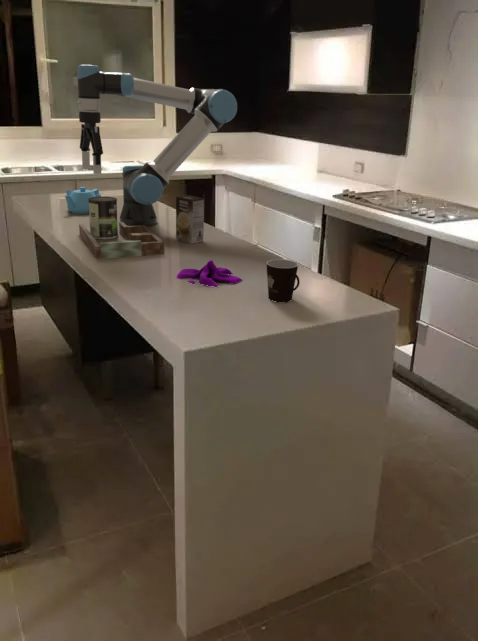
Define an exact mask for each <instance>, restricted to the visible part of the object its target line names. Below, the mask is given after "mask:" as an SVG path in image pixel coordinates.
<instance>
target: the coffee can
mask: <svg viewBox="0 0 478 641" xmlns="http://www.w3.org/2000/svg"><path fill="white" fill-rule="evenodd" d="M88 201H89V214H88V215H89V232H90V233H91V235H92V236H93V237H94V239H95V240H113V239H117V238H118V237H119V234H118V233H119V229H118V228H119V225H118V206H117V205H118V204H117V201H118V198H116V197H113V196H101V197H91V198H88Z"/></svg>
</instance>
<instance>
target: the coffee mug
mask: <svg viewBox="0 0 478 641" xmlns="http://www.w3.org/2000/svg"><path fill="white" fill-rule="evenodd" d="M265 264H266V279H267V293H268V294H267V295H268V296H267V297H268V300H269V299H270V301H271V300H273V301H276V302H275V303H279V302H285V303H289V302H288V301H290V300H291V301H292V300H293V296H294V295H293V294H294V292H295V291H296V290H297V289H298V288H299V286H300V278H299V275H297V272H298V267H299V263H298V262H297V261H294V260H290V259H281V258H279V259H270V260H267V261H266V263H265ZM296 281H297V283H296ZM295 283H296V284H295ZM295 285H296V286H295ZM273 301H272V302H273ZM291 301H290V302H291Z"/></svg>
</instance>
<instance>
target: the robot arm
mask: <svg viewBox="0 0 478 641" xmlns="http://www.w3.org/2000/svg"><path fill="white" fill-rule="evenodd" d="M77 92H78V93H77V94H78V95H77V96H78V100H77V104H78V109H79V112H78V121H79V123H81V125H80V126H81V129H80V132H81V133H80V140H79V142H80V143H79V149H80V150H81V164H82V170H90V169H91V156H90V155H92V163H93V164H92V166H93V167H92V168H93V170H92V171H93V175H102V155H104V150H103V144H102V138H101V132H100V130H101V129H100V126H97V124H100V123H101V122H102V121H101V117H102V116H101V112H100V111H101V95H113V96H119V97H125V98H129V99H133V100H139V101H144V102H148V103H153V104H158V105H162V106H168V107H172V108H177V109H182V110H185V111H186V112H187V113H188V114H193V115H194V116H193V117H191V119H190V120H189V121H188V122H187V123H186V124H185V125H184V127H182V129H181V130H180V131H178V133H177V134H176V135H175V137H174V138H173V139H172V140H171V141H170V142H169V143H168V144H167V145H166V146H165V147H164V149H163V150H161V151H160V153H159V154H158V155H157V156H156V157H155V158H154V160H152V161H147V162H145V163H144V164H143V165H125V166H123V167H122V173H121V175H122V191H123V192H122V194H123V205H122V208H121V213H120V215H119V222H124V223H125V224H126V225H127V226H139V225H145V226H146V227H147V226H153V225H156V224H157V223H158V216H157V213H156V210H155V208H154V204H155V203H157V202H158V201H159V200H160V199H161V197H162V195H163V192H164V189H166V187H167V186H169V185H170V177H171V176H172V175H173V174H174V173H175V172H176V171H177V169H179V167H180V166H182V164H183V163H184V162H185V161H186V160H187V159H188V157H190V155H191V154H193V152H194V151H195V150H196V149H197V148H198V147H199V145H200V144H201V143H202V142H203V141H204V140H205V139H206V138H207V137H208V135H210V133H212V132H213V133H214V132H218V131H219V129H220V128H222V127H223V125H224V124H227V123H228V122H231V121H232V120H233V119H234V118H235V116H236V115H237V112H238V102H237V99H236V98H235V96H234V94H233V93H232V92H230V91H228V90H227V89H223V88H218V89H217V88H216V89H215V88H198V87H197V88H196V87H191V88H190V89H188V88H184V87H178V86H174V85H170V84H166V83H160V82H155V81H152V80H151V81H150V80H146V79H141V78H138V77H134V76H133V75H132V73H129V72H128V73H127V72H113V71H111V72H109V71H107V72H106V71H100V67H99V66H98V65H97V64H96V65H94V64H93V65H92V64H79V65H78V66H77ZM90 145H91V147H92V148H91V149H92V154H90V152H91V149H90Z"/></svg>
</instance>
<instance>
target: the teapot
mask: <svg viewBox="0 0 478 641" xmlns="http://www.w3.org/2000/svg"><path fill="white" fill-rule="evenodd" d="M65 192H66V195H64V197H65V200H66V203H67V204H66V205H67V206H66V208H67V210H68V211H69V212H70V213H71V212H72V213H71V214H75V215H76V214H77V215H89V201H88V198H91V197H102V194H100V192H99V189H98V188H94V189H92V190H90V189H87V187H86V186H80V187H79V189H75V190H73V191H72V190H71V189H66V190H65Z"/></svg>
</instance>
